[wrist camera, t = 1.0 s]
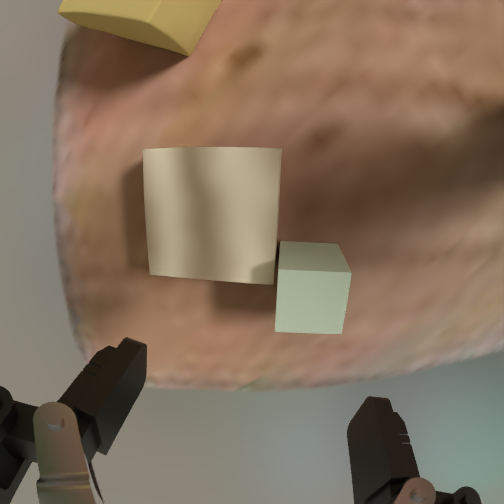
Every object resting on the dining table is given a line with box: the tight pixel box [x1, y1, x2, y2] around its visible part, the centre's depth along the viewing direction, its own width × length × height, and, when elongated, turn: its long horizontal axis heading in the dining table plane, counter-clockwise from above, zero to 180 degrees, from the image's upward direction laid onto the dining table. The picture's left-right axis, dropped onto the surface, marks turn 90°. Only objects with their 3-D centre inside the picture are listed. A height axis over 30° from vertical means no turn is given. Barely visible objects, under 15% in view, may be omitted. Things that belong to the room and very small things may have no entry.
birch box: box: [143, 147, 281, 285], centre depth 26 cm, size 11×11×5 cm
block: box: [275, 241, 352, 334], centre depth 26 cm, size 6×6×7 cm
